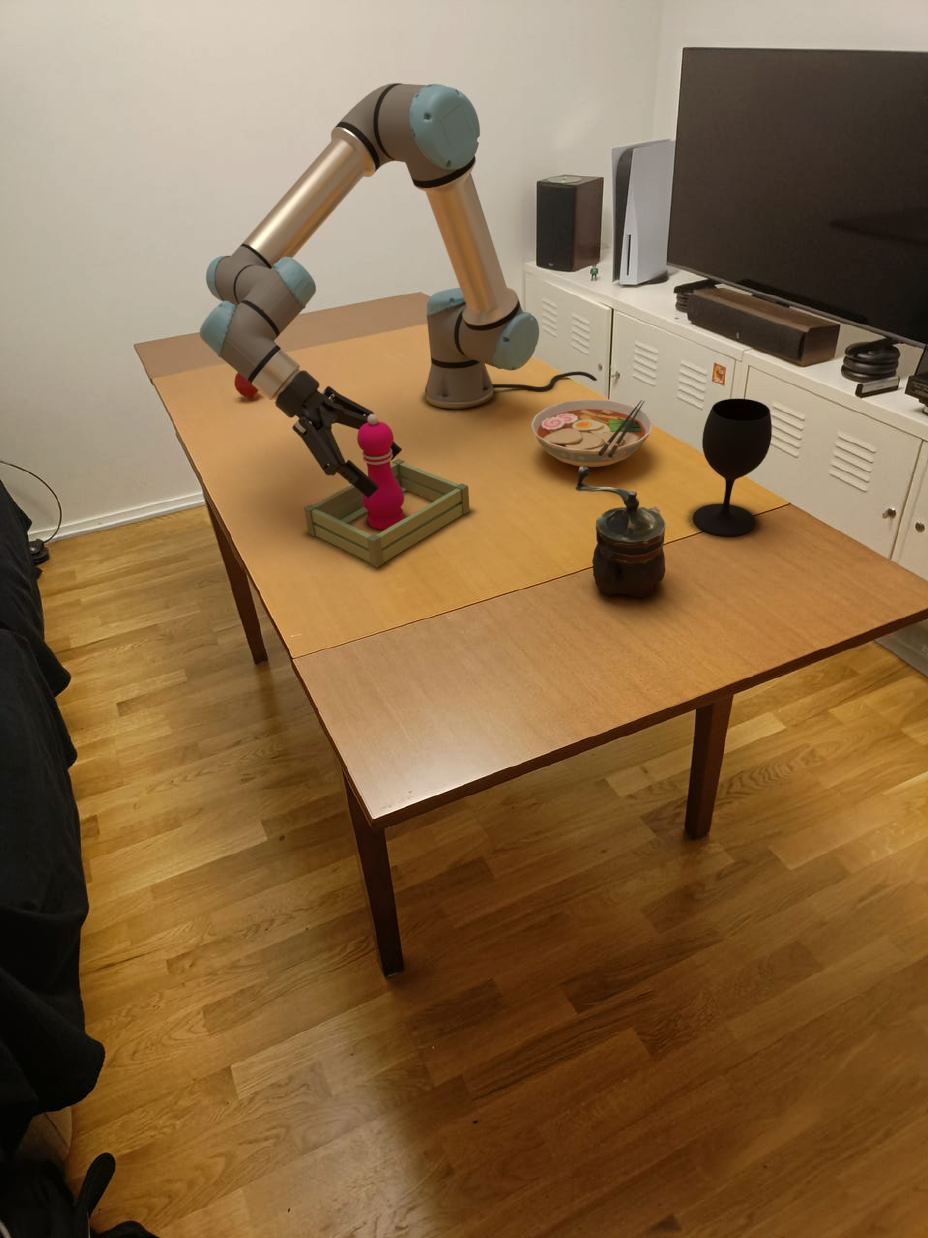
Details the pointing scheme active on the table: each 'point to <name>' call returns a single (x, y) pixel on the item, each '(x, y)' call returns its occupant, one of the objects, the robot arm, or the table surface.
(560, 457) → the ramen bowl
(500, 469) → the table surface
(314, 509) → the crate
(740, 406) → the wine glass
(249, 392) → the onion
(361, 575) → the table surface
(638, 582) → the coffee grinder
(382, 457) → the pepper mill
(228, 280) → the robot arm
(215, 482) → the table surface
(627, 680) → the table surface
